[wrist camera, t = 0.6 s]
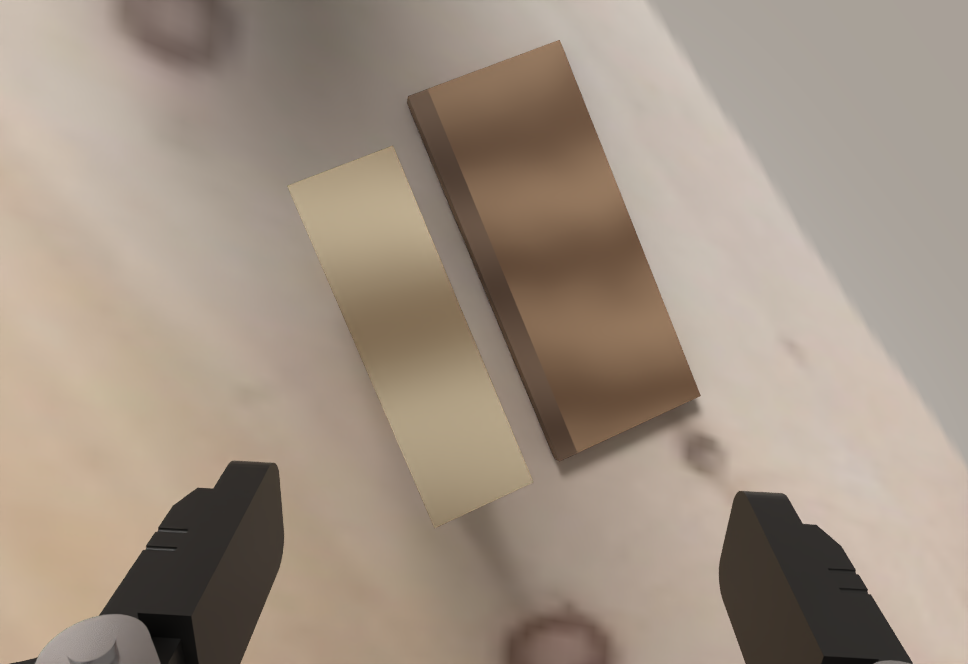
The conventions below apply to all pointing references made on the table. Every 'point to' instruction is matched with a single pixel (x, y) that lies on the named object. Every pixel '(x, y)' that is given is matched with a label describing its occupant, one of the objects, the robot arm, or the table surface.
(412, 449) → the oak plank
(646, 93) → the table surface
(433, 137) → the floor panel
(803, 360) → the table surface
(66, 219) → the table surface
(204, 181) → the table surface
